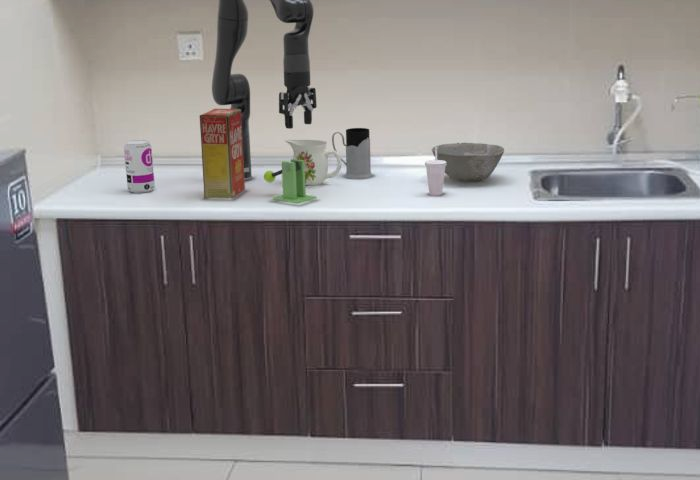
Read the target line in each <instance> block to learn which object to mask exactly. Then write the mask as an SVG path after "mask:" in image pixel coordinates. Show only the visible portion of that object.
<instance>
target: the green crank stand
mask: <svg viewBox="0 0 700 480" xmlns="http://www.w3.org/2000/svg"><path fill="white" fill-rule="evenodd" d="M297 161H298V164H299V167H300V170H297V171H296V166H295V163H294V162H297ZM281 170H282V174H281V178H282V194H281V195H280V194H279V195H277V196H274V197H272V200H273V201H280V202H286V203H293V204H298V205H299V204H302V203H306V202H309V201H312V200H315V199H317V196H315V195H308V194H307V192H306V190H307V189H306V185H305V165H304V160H297V159H293V158H291V159H290V161H286V160H285V161H284V160H283V161H281Z"/></svg>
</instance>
